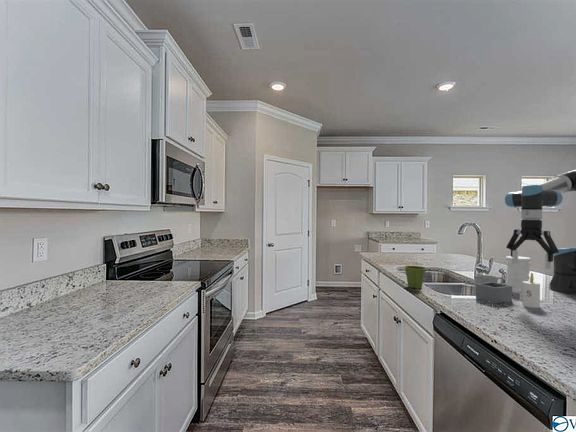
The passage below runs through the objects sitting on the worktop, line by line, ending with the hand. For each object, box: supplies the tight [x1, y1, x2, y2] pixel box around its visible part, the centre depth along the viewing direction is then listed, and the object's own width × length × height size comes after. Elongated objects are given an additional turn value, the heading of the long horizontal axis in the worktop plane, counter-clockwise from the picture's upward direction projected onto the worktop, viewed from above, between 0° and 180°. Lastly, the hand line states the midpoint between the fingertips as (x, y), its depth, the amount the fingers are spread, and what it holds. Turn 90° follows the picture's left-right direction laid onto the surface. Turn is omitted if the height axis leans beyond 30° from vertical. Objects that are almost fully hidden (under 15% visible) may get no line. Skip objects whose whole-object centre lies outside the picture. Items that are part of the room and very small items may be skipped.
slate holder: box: [475, 282, 513, 304], centre depth 154 cm, size 11×10×7 cm
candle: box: [521, 272, 541, 309], centre depth 144 cm, size 6×6×15 cm
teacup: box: [473, 274, 505, 287], centre depth 172 cm, size 14×11×8 cm
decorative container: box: [505, 255, 531, 295], centre depth 171 cm, size 12×12×18 cm
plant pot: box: [403, 265, 427, 290], centre depth 181 cm, size 12×12×11 cm
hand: (530, 266), depth 144 cm, fingers open, 13 cm apart
